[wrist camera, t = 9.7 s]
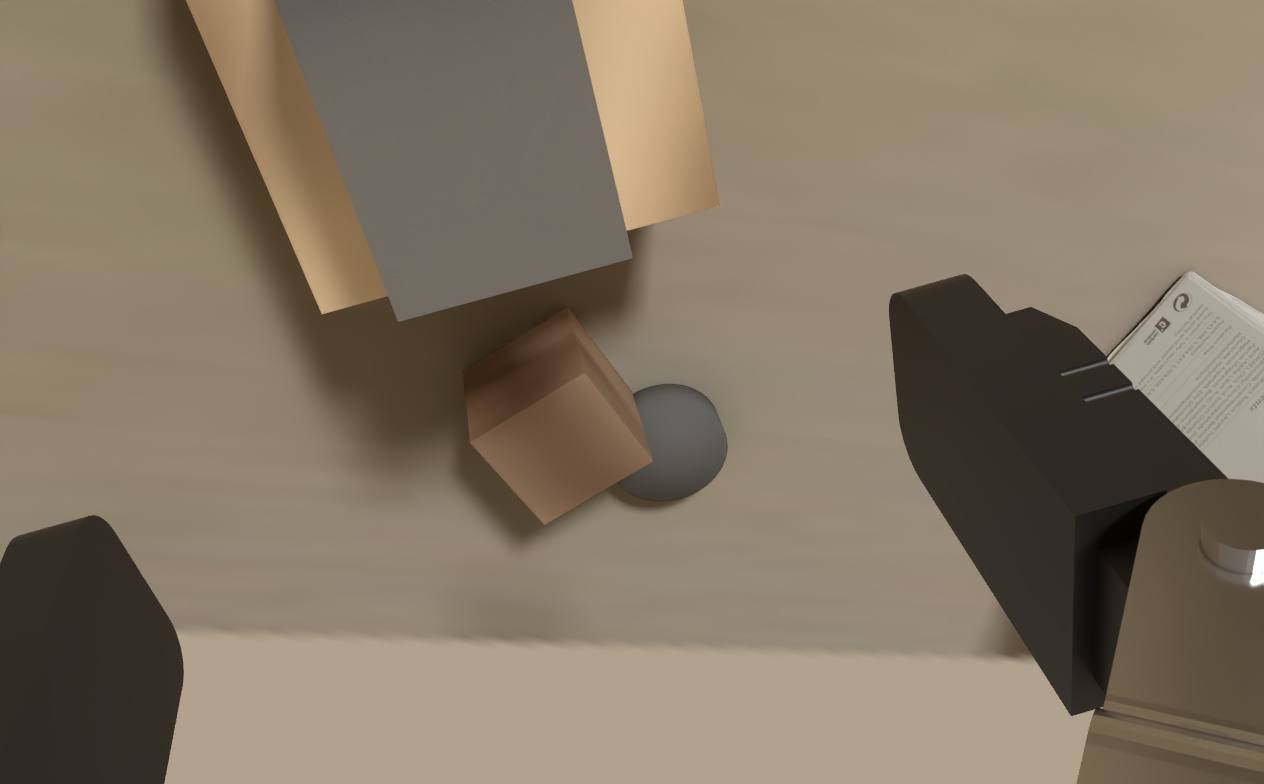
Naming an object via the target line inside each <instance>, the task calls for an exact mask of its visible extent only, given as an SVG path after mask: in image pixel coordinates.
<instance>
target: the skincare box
mask: <svg viewBox="0 0 1264 784" xmlns="http://www.w3.org/2000/svg"><path fill="white" fill-rule="evenodd" d="M1107 359H1108V363H1109V364H1110V365H1111V364H1114V365H1115V366H1116V367H1117V368H1118V369H1119V370H1120V371H1121V372H1122V373H1123V374H1124V375H1125V376H1126V377H1127V378H1128V379H1129V380H1130V381H1131V382H1132V384H1133V388H1134V390H1137V389H1139V390H1140V391H1141V392H1142V393H1143V394H1144V395H1145V396H1146V397H1147V398H1148V399H1149V400H1150V401H1151V402H1152V403H1153V404H1154V405H1155V406H1156V407H1157V408H1158V409H1159V410H1160V411H1161V412H1162V413H1163V414H1164V415H1165V416H1166V417H1167V418H1168V419H1169V420H1170V421H1171V422H1172V423H1173V424H1174V425H1175V426H1176V427H1177V428H1178V429H1179V430H1180V431H1181V432H1182V433H1183V434H1184V435H1185V436H1186V437H1187V438H1188V439H1189V440H1190V441H1191V442H1192V443H1193V444H1194V445H1195V446H1196V447H1197V448H1198V449H1199V450H1200V451H1201V452H1202V453H1203V454H1204V455H1205V456H1206V457H1207V458H1208V459H1209V460H1210V461H1211V462H1212V463H1213V464H1214V465H1215V466H1216V467H1217V468H1218V469H1219V470H1220V471H1221V472H1222V473H1223V474H1224V475H1225V476H1226V477H1227V478H1228V479H1240V480H1251V481H1256V482H1262V483H1264V314H1263V313H1261V312H1259V311H1257V310H1256V309H1254V308H1252V307H1251V306H1249V305H1247V304H1246V303H1244V302H1242V301H1241V300H1239V299H1237V298H1235V297H1234V296H1232V295H1230V294H1228V293H1226V292H1224V291H1221V290H1219V289H1218V288H1216V287H1214V286H1213V285H1211V284H1210V283H1208V282H1207V281H1206V280H1204V279H1203V278H1202V277H1200V276H1199V275H1197V274H1196V273H1194V272H1191V271H1189V272H1187V273H1186V274H1185V275H1184V276H1182V277H1181V278H1180V279H1179V280H1178V281H1177V282H1176V284H1175V285H1174V286H1173V287H1172V288H1171V289H1170V290H1169V291H1168V293H1167V294H1166V295H1165V296H1164V298H1163V299H1162V300H1161V302H1160V303H1159V304H1158V305H1157V306H1156V307H1155V308H1154V309H1153V310H1152V312H1151V313H1150V314H1149V315H1148V316H1147V317H1146V318H1145V319H1144V320H1143V321H1142V322H1141V323H1140V324H1139V325H1138V326H1137V327H1136V329H1135V330H1134V331H1133V332H1132V333H1131V334H1130V335H1129V336H1128V337H1127V338H1126V339H1125V340H1124V341H1123V342H1122V343H1121V344H1120V345H1119V346H1118V347H1117V348H1116V349H1115V350H1114V351H1113V352H1112V353H1111V354H1110V355H1109V357H1108V358H1107Z"/></svg>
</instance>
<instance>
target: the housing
mask: <svg viewBox="0 0 1264 784" xmlns="http://www.w3.org/2000/svg"><path fill="white" fill-rule="evenodd" d="M274 2H275V4H276V7H277V10H278V12H279V15H280V17H281V20H282V23H283V25H284V28H285V30H286V33H287V35H288V38H289V41H290V43H291V46H292V48H293V51H294V54H295V56H296V59H297V61H298V64H299V67H300V69H301V72H302V74H303V77H304V80H305V82H306V85H307V87H308V90H309V93H310V95H311V98H312V100H313V103H314V105H315V108H316V111H317V113H318V116H319V118H320V121H321V124H322V126H323V129H324V131H325V134H326V137H327V139H328V142H329V144H330V147H331V150H332V152H333V155H334V157H335V160H336V162H337V165H338V168H339V170H340V173H341V175H342V178H343V181H344V183H345V186H346V188H347V191H348V194H349V196H350V199H351V201H352V204H353V207H354V209H355V212H356V214H357V217H358V220H359V222H360V225H361V227H362V230H363V232H364V235H365V238H366V240H367V243H368V245H369V248H370V251H371V253H372V256H373V258H374V261H375V264H376V266H377V269H378V271H379V274H380V277H381V279H382V282H383V284H384V287H385V290H386V292H387V295H388V297H389V300H390V302H391V305H392V308H393V310H394V313H395V315H396V318H397V321H398V322H400V321H403V320H407V319H411V318H414V317H418V316H422V315H426V314H429V313H433V312H437V311H440V310H444V309H448V308H451V307H455V306H459V305H462V304H466V303H470V302H473V301H477V300H481V299H485V298H488V297H492V296H496V295H499V294H503V293H507V292H510V291H514V290H518V289H521V288H525V287H529V286H532V285H536V284H540V283H543V282H547V281H551V280H555V279H558V278H562V277H566V276H569V275H573V274H577V273H580V272H584V271H588V270H591V269H595V268H599V267H602V266H606V265H610V264H614V263H617V262H621V261H625V260H628V259H632V258H633V256H632V251H631V247H630V243H629V239H628V234H627V230H626V226H625V222H624V217H623V213H622V209H621V205H620V201H619V196H618V192H617V188H616V184H615V179H614V175H613V171H612V167H611V162H610V158H609V154H608V150H607V145H606V141H605V137H604V133H603V128H602V124H601V120H600V116H599V112H598V107H597V103H596V99H595V95H594V90H593V86H592V82H591V78H590V73H589V69H588V65H587V61H586V56H585V52H584V48H583V44H582V39H581V35H580V31H579V27H578V22H577V18H576V14H575V10H574V6H573V1H572V0H274Z"/></svg>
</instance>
